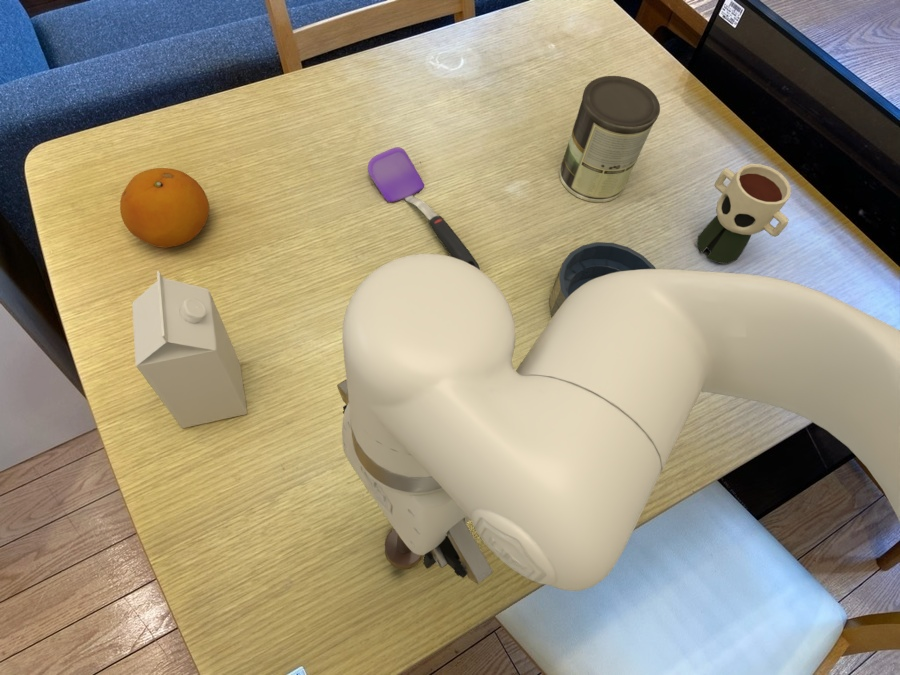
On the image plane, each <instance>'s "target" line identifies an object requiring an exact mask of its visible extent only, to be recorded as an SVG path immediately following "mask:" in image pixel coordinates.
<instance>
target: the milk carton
mask: <svg viewBox="0 0 900 675" xmlns="http://www.w3.org/2000/svg"><path fill="white" fill-rule="evenodd" d="M131 305H132V306H131V308H132V325H133V328H132V329H133V343H134V345H133V346H134V347H133V348H134V364H135V367H136V368H137V370H138V372H140V374H141V375H142V376H143V378H144V379H145V380H146V382H147V383H148V384H149V386H150V387H151V389H152V390H153V391H154V393H155V394H156V395H157V397H158V398H159V400H160V401H161V402H162V403H163V404H164V406H165V408H166V409H167V410H168V411H169V413H170V414H171V416H172V418H173V419H174V420H175V421H176V422H177V424H178V425H179V427H180V428H181V429H187V428H190V427H195V426H199V425H204V424H209V423H213V422H217V421H223V420H226V419H231V418H235V417H239V416H244V415H247V414H248V408H247V402H246V396H245V395H246V394H245V388H244V380H243V373H242V368H241V362H240V359H239V357H238V355H237V352H236V350H235V348H234V345H233V342H232V340H231V338H230V335H229V334H228V331H227V329H226V327H225V324H224V322H223V319H222V317H221V315H220V313H219V310H218V307H217V305H216V303H215V301H214V298H213V296H212V293H211V291H210V290H209V288H206V287H202V286H199V285H195V284H191V283H186V282H182V281H178V280H174V279H170V278H166V277H163V276H162V274H161V272H160V271H159V270H157V271H156V281H155V282H153V284H152V285H151V286H149V287H147V289H146V290H145V291H143V293H141V294H140V295H139V296H138V297H137V298H135V300H133V301H132V304H131Z"/></svg>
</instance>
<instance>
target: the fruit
mask: <svg viewBox="0 0 900 675" xmlns="http://www.w3.org/2000/svg"><path fill="white" fill-rule="evenodd" d="M119 212H120V217H121V220H122V222H123V224H124V226H125V227H126V229H127V230H128V231H129V232H130V233H131V235H133V236H134V237H135V238H137V239H138V240H140V241H142V242H144V243H146V244H149V245H151V246H155V247H159V248H171V247H177V246H181V245H185V244H186V243H188V242H190V241H192V240H194V238H195V237H196V236H197V235H199V233H200V232H201V231H202V230H203V228H204V227H205V225H206V222H207V220H208V217H209V214H210V203H209V200H208V197H207V195H206V192H205V190H204V189H203V187H202V186H201V184H200V183H199V182H198V181H197V180H196V179H195V178H193V177H192V176H190V174H187V173H186V172H184V171H181V170H178V169H174V168H170V167H169V168H167V167H157V168H156V167H154V168H150V169H146V170H143V171H141V172H139V173H137V174H134V176H133V177H132V178H131V179H130V181H129V182H128V184H127V185H126V187H125V188H124V190H123V191H122V194H121V197H120V201H119Z"/></svg>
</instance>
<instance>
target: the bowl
mask: <svg viewBox="0 0 900 675" xmlns="http://www.w3.org/2000/svg"><path fill="white" fill-rule="evenodd" d="M562 261H563V262H562V263H561V265H560V269H559V270H558V272H557V276H556V278H555V281H554V283H553V286H552V289H551V292H550V296H549V306H550V314H551V316H552V317H553V316H554V314H555V313H556V312H557V310H558V309H559V308H560V306H561V305H562V304H563V302H564V301H565V300H566V299H567V298H568V297H569V296H570V295H571V294H572V293H573V292H574V291H575V290H577V289H578V288H579V287H581V286H582V285H583V284H585V283H587V282H588V281H590V280H593V279H595V278H598V277H601V276H604V275H607V274H610V273H615V272H620V271H629V270H640V269H657V268H656V266H655V265H654V264H652V263H651V261H650V260H648V258H646V257H645V256H644V255H643V254H641V253H639V252H637V251H636V250H634V249H632V248H630V247H628V246H625V245H622V244H619V243H615V242H606V241H605V242H601V241H597V242H592V243H591V242H590V243H587V244H583V245H581V246H579V247H577V248H576V249H574V250H572V251H570V252H569V254H568V255H567V257H565V259H564V260H562Z"/></svg>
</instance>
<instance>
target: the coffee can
mask: <svg viewBox="0 0 900 675" xmlns="http://www.w3.org/2000/svg"><path fill="white" fill-rule="evenodd" d="M660 112H661V105H660V101H659V99H658V97H657V95H656V94H655V93H654V92H653V90H651V89H650V88H649V87H648V86H646V85H645V84H644V83H641V82H640V81H638V80H636V79H633V78H630V77H627V76H626V77H625V76H621V75H605V76H604V75H603V76H601V77H597V78H595V79H593V80H591V81H590V82H589V83H588V84H587V85H586V86H585V87H584V89H583V92H582V98H581V102H580V105H579V108H578V111H577V113H576V114H577V115H576V118H575V121H574V124H573V127H572V131H571V134H570V136H569V140H568V143H567V146H566V148H565V152H564V155H563V158H562V161H561V164H560V165H559V170H558V171H559V172H558V175H559V180H560V183H561V184H562V186H563V187H564V188H565V189H566V190H567V191H568V193H570V194H571V195H572V196H574V197H575V198H577V199H580V200H583V201H586V202H590V203H607V202H611V201H613V200H615V199H617V198H619V197H620V195H622V193H623V192H624V191H625V189H626V185H627V182H628V180H629V178H630V176H631V174H632V171H633V170H634V167H635V166H636V163H637V161H638V159H639V157H640V155H641V152H642V150H643V148H644V146H645V144H646V141H647V139H648V138H649V134H650V132H651V131H652V128H653V126H654V124H655V123H656V121H657V119H658V118H659V116H660Z"/></svg>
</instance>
